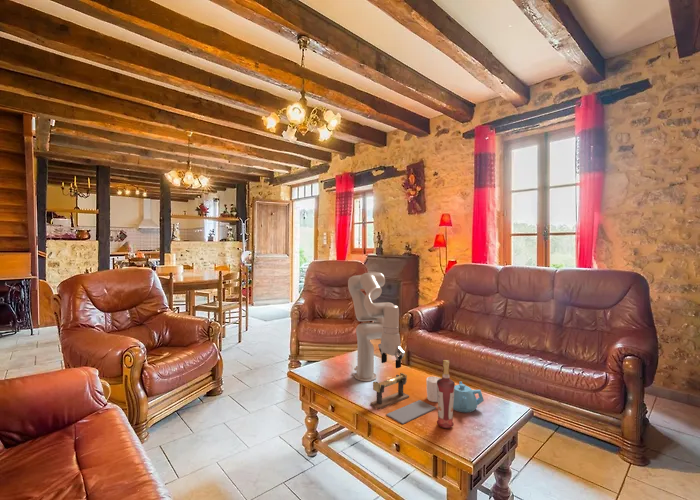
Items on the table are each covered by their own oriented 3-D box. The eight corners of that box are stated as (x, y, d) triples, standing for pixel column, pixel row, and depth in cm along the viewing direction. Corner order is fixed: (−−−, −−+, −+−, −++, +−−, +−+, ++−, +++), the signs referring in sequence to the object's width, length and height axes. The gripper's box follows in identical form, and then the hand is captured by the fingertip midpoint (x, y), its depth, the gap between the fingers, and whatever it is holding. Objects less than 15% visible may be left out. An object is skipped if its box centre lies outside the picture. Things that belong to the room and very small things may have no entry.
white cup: (442, 403, 169) (443, 383, 169) (426, 401, 171) (426, 381, 170) (441, 396, 177) (442, 377, 176) (425, 395, 178) (426, 375, 178)
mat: (386, 415, 157) (386, 413, 157) (419, 401, 171) (419, 399, 171) (402, 424, 149) (402, 423, 149) (436, 408, 163) (436, 407, 163)
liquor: (455, 431, 144) (456, 364, 143) (437, 429, 145) (437, 363, 145) (453, 422, 151) (453, 358, 151) (435, 420, 152) (436, 357, 152)
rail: (378, 392, 163) (378, 384, 163) (373, 389, 166) (373, 382, 166) (406, 382, 176) (406, 374, 176) (401, 379, 179) (401, 372, 178)
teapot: (463, 418, 155) (464, 394, 155) (438, 404, 168) (439, 382, 168) (485, 409, 163) (486, 387, 163) (460, 397, 176) (460, 376, 176)
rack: (370, 404, 167) (370, 383, 167) (400, 393, 180) (400, 373, 180) (378, 409, 162) (379, 387, 162) (409, 397, 175) (409, 376, 175)
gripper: (373, 328, 175) (373, 362, 175) (398, 334, 161) (398, 371, 161) (384, 326, 179) (384, 359, 179) (409, 332, 166) (409, 368, 166)
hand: (391, 365), depth 170 cm, fingers open, 9 cm apart
